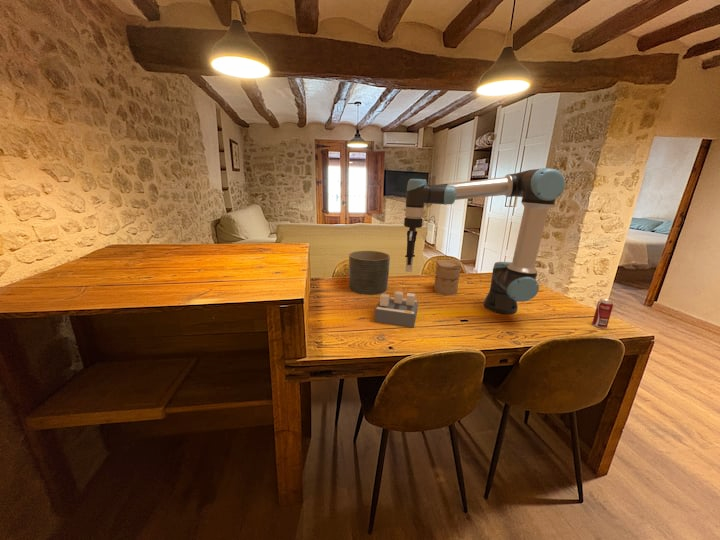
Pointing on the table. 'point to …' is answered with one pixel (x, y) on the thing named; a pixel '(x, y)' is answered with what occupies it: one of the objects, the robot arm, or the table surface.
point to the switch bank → (396, 313)
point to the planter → (368, 272)
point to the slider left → (384, 300)
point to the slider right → (410, 299)
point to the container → (447, 277)
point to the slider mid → (398, 297)
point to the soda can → (602, 313)
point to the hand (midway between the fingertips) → (408, 271)
